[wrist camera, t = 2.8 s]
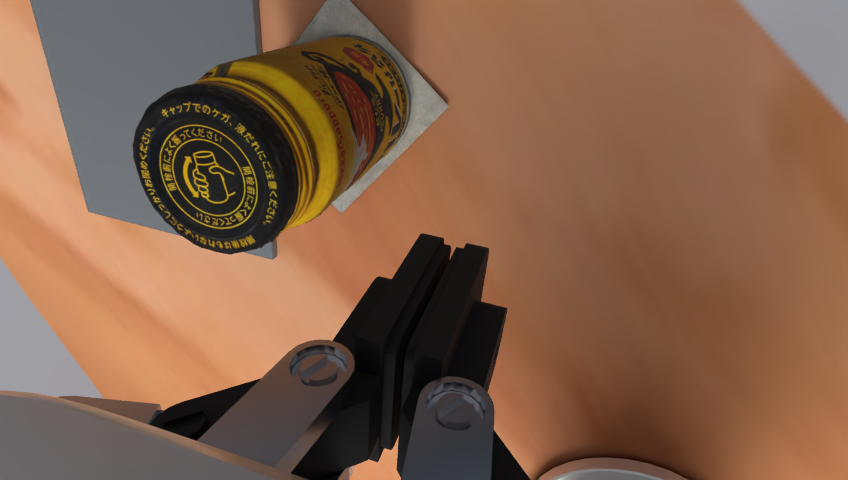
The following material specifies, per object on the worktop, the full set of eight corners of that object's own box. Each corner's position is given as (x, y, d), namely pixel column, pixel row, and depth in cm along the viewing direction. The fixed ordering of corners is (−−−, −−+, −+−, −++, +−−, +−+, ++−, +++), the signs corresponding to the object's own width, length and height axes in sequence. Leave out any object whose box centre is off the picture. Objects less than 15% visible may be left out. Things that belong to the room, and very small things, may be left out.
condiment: (450, 105, 25) (356, 194, 14) (342, 212, 29) (208, 342, 18) (338, -15, 24) (151, -11, 13) (243, 113, 28) (42, 192, 17)
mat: (277, 255, 33) (272, 259, 32) (94, 208, 36) (88, 211, 35) (248, -140, 23) (241, -141, 22) (-4, -157, 26) (-14, -159, 25)
